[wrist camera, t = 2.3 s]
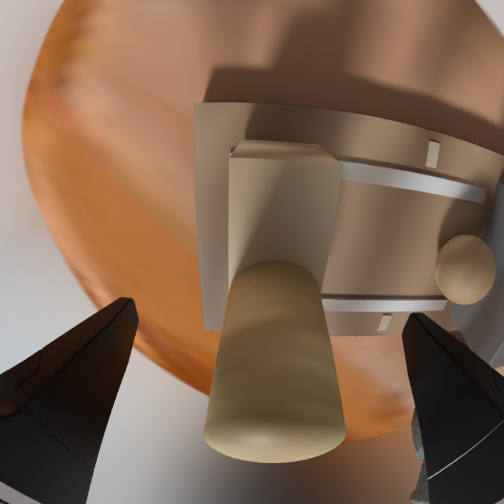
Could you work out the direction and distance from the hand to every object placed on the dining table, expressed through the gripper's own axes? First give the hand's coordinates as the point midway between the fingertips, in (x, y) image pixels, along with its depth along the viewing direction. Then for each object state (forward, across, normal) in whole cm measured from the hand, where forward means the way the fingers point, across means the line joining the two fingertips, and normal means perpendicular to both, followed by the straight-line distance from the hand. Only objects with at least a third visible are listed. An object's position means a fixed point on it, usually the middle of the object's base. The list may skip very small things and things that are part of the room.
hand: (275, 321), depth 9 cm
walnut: (+5, -10, 0) cm, 11 cm away
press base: (+7, -6, 0) cm, 9 cm away
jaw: (+5, 0, 0) cm, 5 cm away
